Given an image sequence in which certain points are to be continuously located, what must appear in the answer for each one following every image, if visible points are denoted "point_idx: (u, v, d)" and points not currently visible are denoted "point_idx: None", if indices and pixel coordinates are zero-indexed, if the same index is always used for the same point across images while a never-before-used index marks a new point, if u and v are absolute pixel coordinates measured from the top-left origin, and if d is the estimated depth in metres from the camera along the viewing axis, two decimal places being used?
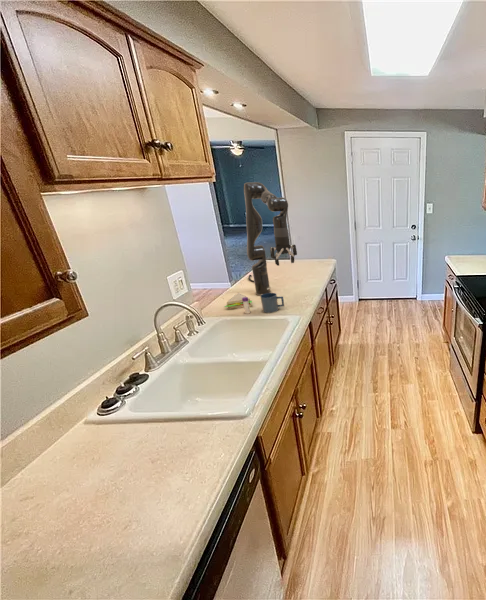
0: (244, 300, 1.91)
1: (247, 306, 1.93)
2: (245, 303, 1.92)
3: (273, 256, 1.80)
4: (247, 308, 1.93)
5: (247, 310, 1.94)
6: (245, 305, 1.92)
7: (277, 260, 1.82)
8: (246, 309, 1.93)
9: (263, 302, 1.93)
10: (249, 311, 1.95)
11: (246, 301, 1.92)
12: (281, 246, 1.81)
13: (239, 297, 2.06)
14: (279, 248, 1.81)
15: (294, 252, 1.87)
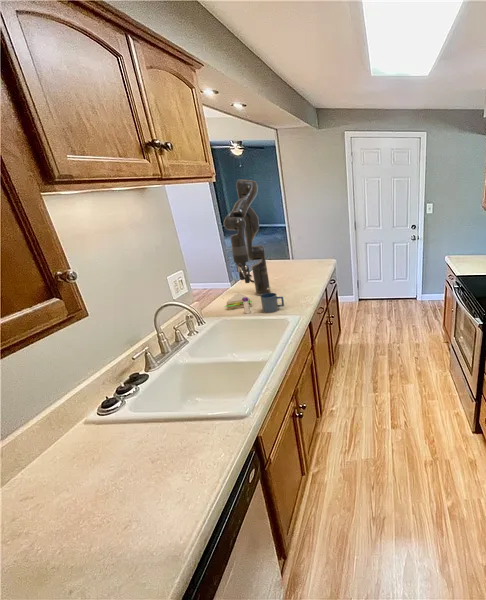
0: (244, 300, 1.91)
1: (247, 306, 1.93)
2: (245, 303, 1.92)
3: (237, 270, 1.91)
4: (247, 308, 1.93)
5: (247, 310, 1.94)
6: (245, 305, 1.92)
7: None
8: (246, 309, 1.93)
9: (263, 302, 1.93)
10: (249, 311, 1.95)
11: (246, 301, 1.92)
12: (239, 263, 1.85)
13: (239, 297, 2.06)
14: None
15: None
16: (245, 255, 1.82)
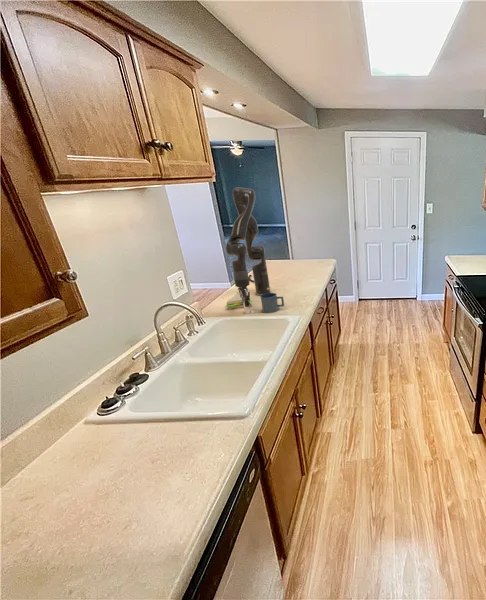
0: None
1: None
2: None
3: (240, 295, 1.94)
4: (247, 308, 1.93)
5: (247, 310, 1.94)
6: None
7: (242, 300, 1.94)
8: (246, 309, 1.93)
9: (263, 302, 1.93)
10: (249, 311, 1.95)
11: None
12: (240, 287, 1.90)
13: (239, 297, 2.06)
14: (240, 289, 1.92)
15: None
16: (246, 279, 1.87)
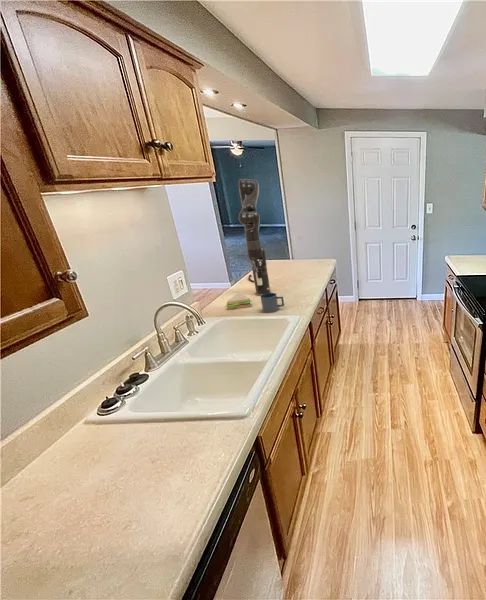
0: None
1: (260, 278, 1.90)
2: None
3: (252, 267, 1.91)
4: (260, 280, 1.90)
5: (259, 282, 1.91)
6: None
7: (254, 271, 1.91)
8: (259, 281, 1.90)
9: (263, 302, 1.93)
10: (261, 283, 1.92)
11: None
12: (253, 257, 1.87)
13: (239, 297, 2.06)
14: None
15: None
16: (259, 249, 1.84)
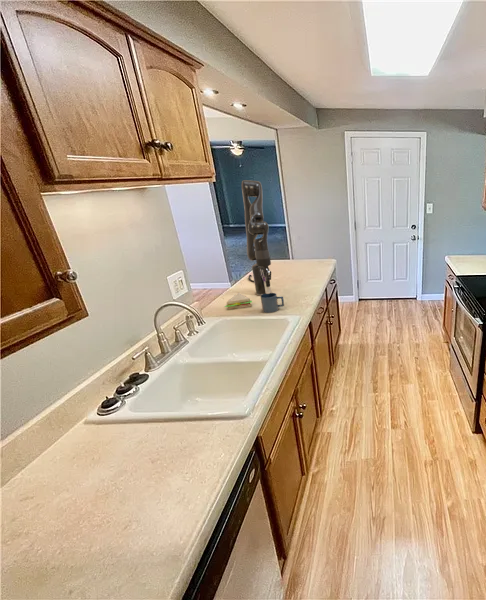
0: None
1: None
2: None
3: (261, 275, 1.94)
4: (268, 288, 1.93)
5: (268, 290, 1.94)
6: None
7: (263, 280, 1.94)
8: (267, 289, 1.93)
9: (263, 302, 1.93)
10: (270, 291, 1.95)
11: None
12: (261, 266, 1.90)
13: (239, 297, 2.06)
14: (261, 269, 1.92)
15: None
16: (268, 259, 1.87)
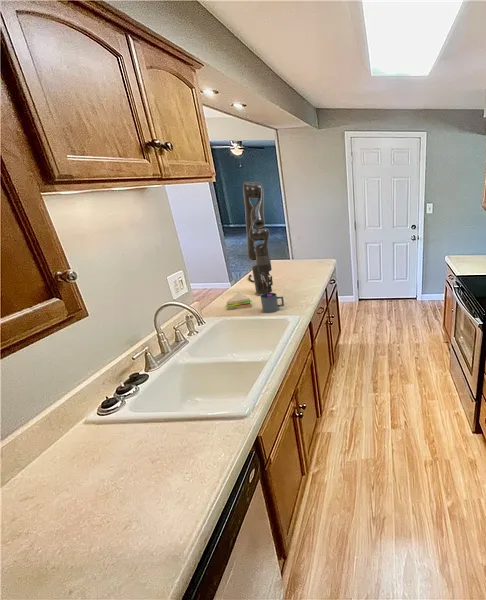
0: None
1: None
2: None
3: (261, 279, 1.96)
4: None
5: None
6: None
7: (263, 284, 1.96)
8: None
9: (263, 302, 1.93)
10: None
11: None
12: (262, 272, 1.91)
13: (239, 297, 2.06)
14: None
15: (268, 282, 1.89)
16: (269, 264, 1.88)
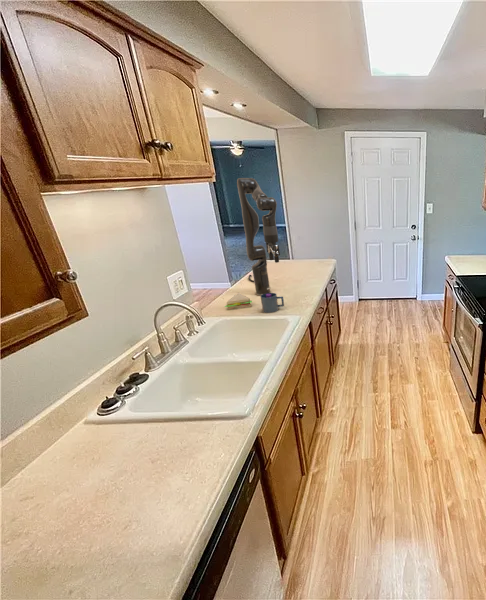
0: (268, 297, 1.95)
1: None
2: None
3: (267, 250, 1.97)
4: None
5: None
6: None
7: None
8: None
9: (263, 302, 1.93)
10: None
11: None
12: (269, 243, 1.92)
13: (239, 297, 2.06)
14: (268, 244, 1.93)
15: None
16: (275, 235, 1.88)
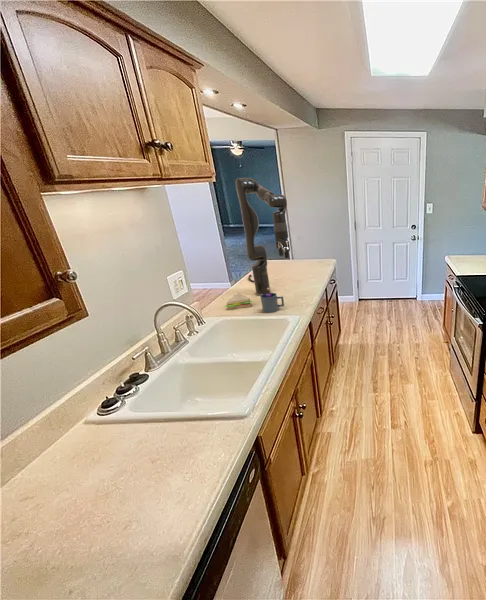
0: (268, 297, 1.95)
1: None
2: None
3: (276, 246, 2.02)
4: None
5: None
6: None
7: None
8: None
9: (263, 302, 1.93)
10: None
11: None
12: (279, 239, 1.97)
13: (239, 297, 2.06)
14: None
15: None
16: (286, 231, 1.94)
